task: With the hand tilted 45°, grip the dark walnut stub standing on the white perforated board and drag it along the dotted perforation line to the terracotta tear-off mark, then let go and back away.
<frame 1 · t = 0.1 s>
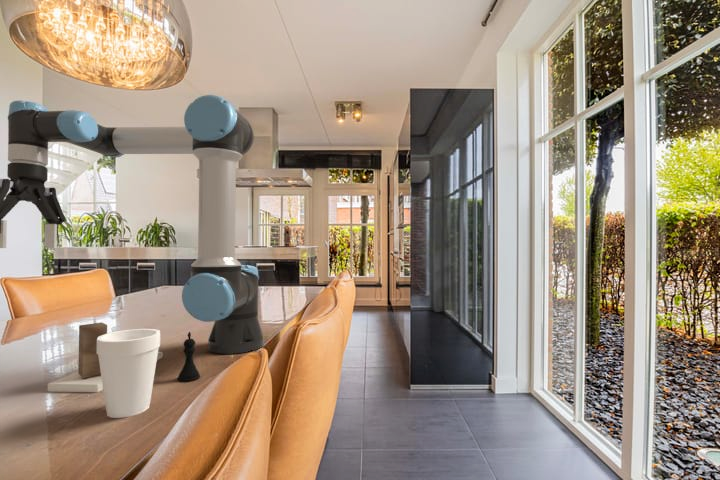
hand: (26, 248, 92), 28 cm above the table, tool pointing down, fingers open, 13 cm apart
white perforated board: (112, 372, 82), on the table
stub: (92, 349, 76), point 7 cm above the table, slide at 0.0 cm
foam cup: (128, 410, 63), on the table
chess piece: (188, 379, 78), on the table
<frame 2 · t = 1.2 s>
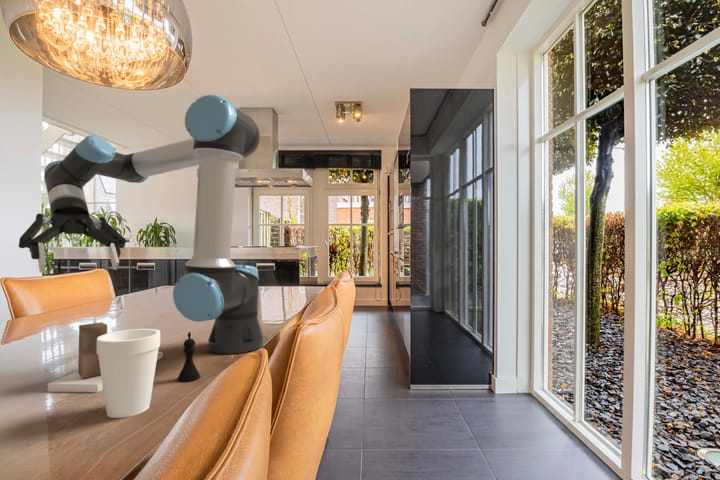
hand: (81, 267, 83), 24 cm above the table, tool tilted 45°, fingers open, 13 cm apart
nothing on the table moved.
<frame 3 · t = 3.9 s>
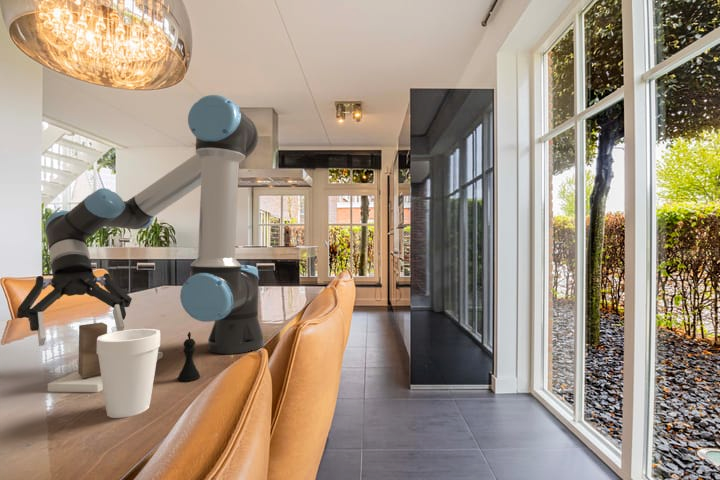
hand: (84, 336, 77), 9 cm above the table, tool tilted 45°, fingers open, 13 cm apart
nothing on the table moved.
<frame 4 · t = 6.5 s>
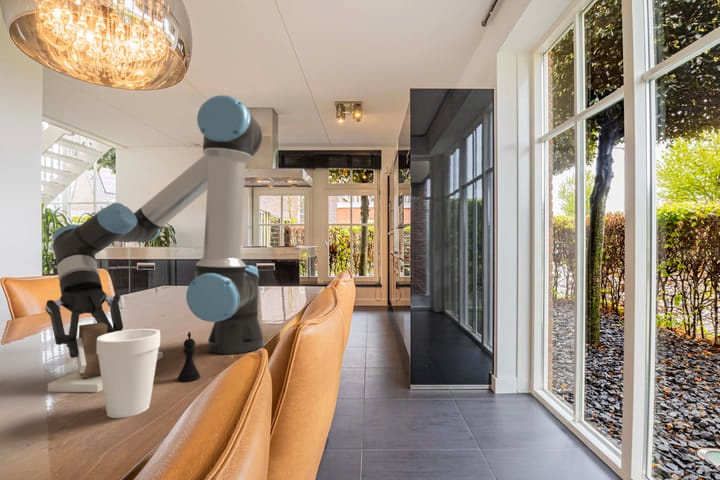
hand: (97, 366, 73), 4 cm above the table, tool tilted 45°, fingers closed on stub, 4 cm apart
stub: (92, 349, 76), point 7 cm above the table, slide at 0.0 cm, touching gripper
everything else where it was.
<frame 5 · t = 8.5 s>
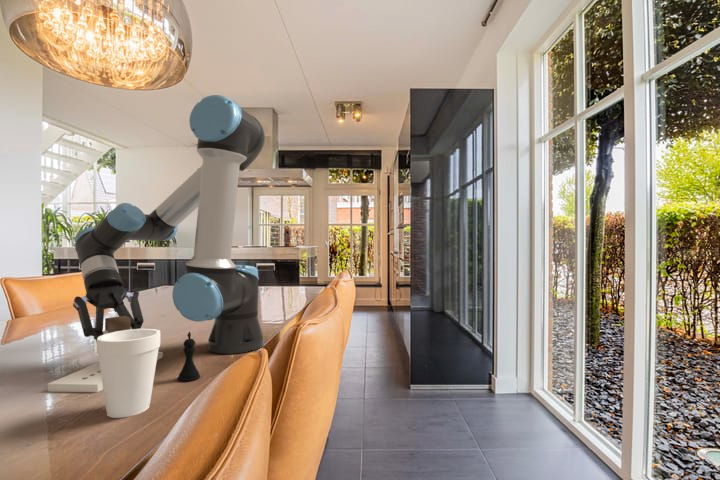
hand: (122, 355, 81), 4 cm above the table, tool tilted 45°, fingers closed on stub, 4 cm apart
stub: (117, 340, 83), point 7 cm above the table, slide at 7.5 cm, touching gripper
everything else where it was.
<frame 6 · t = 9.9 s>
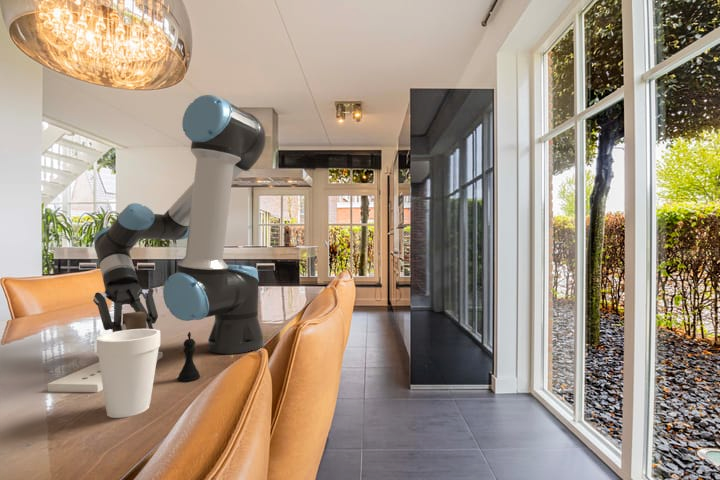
hand: (139, 348, 87), 4 cm above the table, tool tilted 45°, fingers closed on stub, 4 cm apart
stub: (134, 333, 89), point 7 cm above the table, slide at 13.3 cm, touching gripper
everything else where it was.
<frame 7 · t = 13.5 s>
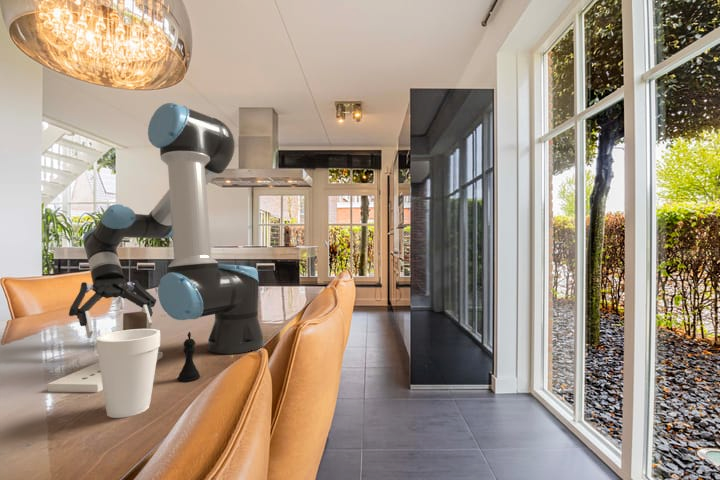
hand: (121, 330, 96), 6 cm above the table, tool tilted 45°, fingers open, 13 cm apart
stub: (134, 333, 89), point 7 cm above the table, slide at 13.5 cm
everything else where it was.
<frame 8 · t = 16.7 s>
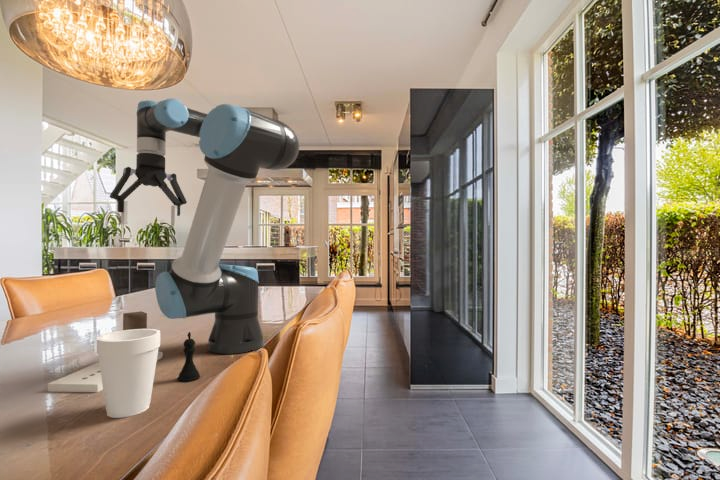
hand: (150, 225, 109), 35 cm above the table, tool pointing down, fingers open, 13 cm apart
nothing on the table moved.
at the end: stub slide at 13.5 cm; the gripper is holding nothing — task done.
